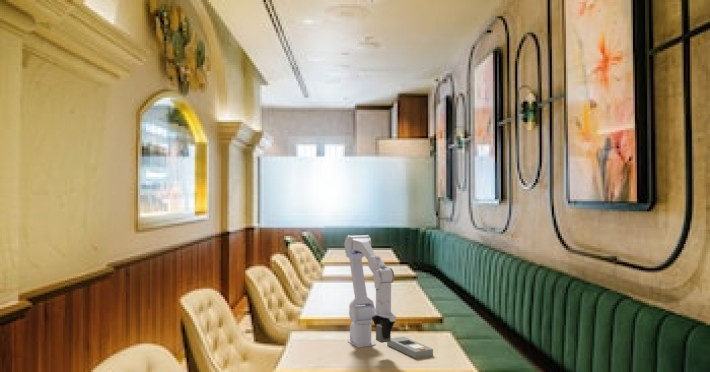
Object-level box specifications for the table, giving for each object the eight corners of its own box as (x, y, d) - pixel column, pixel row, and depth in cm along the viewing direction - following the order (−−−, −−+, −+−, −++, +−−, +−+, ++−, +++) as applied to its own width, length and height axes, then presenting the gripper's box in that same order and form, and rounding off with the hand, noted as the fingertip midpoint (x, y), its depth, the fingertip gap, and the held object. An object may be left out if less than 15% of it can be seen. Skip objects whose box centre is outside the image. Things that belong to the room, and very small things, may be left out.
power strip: (387, 345, 213) (387, 337, 213) (403, 342, 217) (403, 335, 217) (415, 358, 195) (415, 350, 196) (433, 355, 199) (433, 347, 199)
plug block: (375, 340, 199) (376, 324, 199) (385, 338, 201) (385, 322, 201) (381, 342, 196) (381, 326, 196) (390, 341, 198) (390, 325, 198)
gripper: (364, 297, 203) (364, 333, 203) (384, 305, 190) (384, 343, 190) (380, 296, 207) (380, 331, 206) (400, 303, 194) (400, 340, 194)
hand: (383, 336), depth 198 cm, fingers closed on plug block, 4 cm apart
